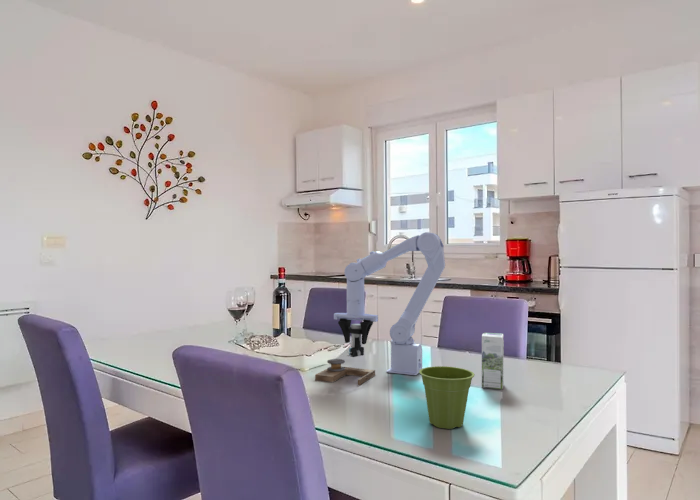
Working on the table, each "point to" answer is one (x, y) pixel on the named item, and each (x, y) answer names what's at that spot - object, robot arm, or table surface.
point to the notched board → (343, 372)
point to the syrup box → (492, 360)
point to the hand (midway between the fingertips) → (355, 343)
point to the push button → (355, 341)
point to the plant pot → (446, 394)
